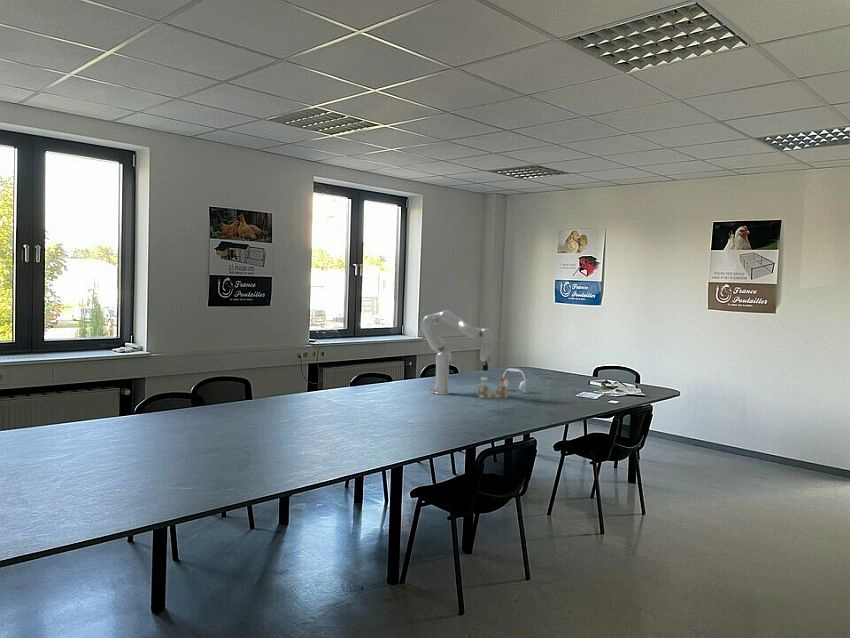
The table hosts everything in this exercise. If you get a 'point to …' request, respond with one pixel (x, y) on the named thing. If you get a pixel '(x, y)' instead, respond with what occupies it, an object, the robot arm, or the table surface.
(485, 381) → the plug
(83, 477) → the table surface
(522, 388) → the headset
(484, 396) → the block
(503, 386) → the terracotta plug
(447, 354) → the robot arm
